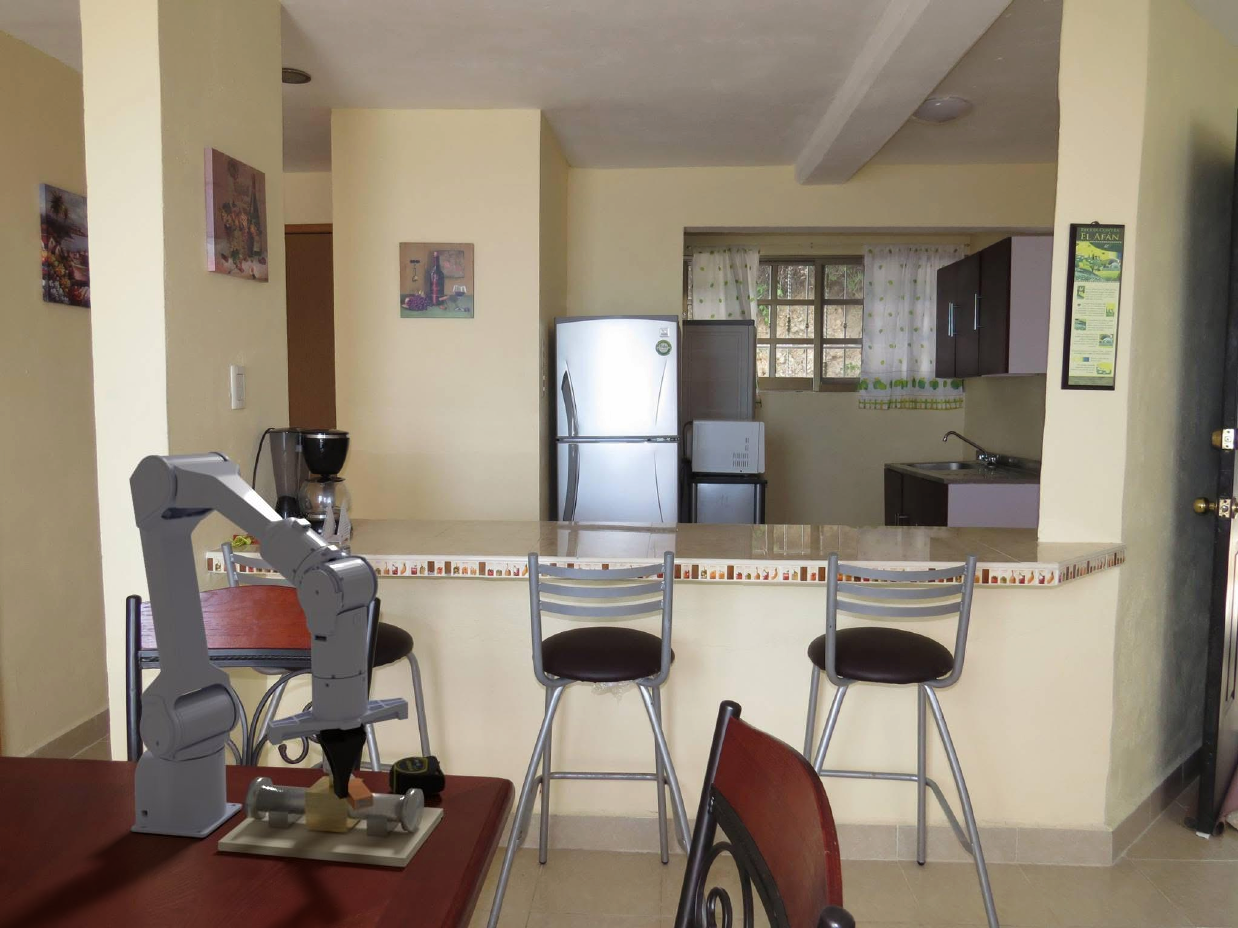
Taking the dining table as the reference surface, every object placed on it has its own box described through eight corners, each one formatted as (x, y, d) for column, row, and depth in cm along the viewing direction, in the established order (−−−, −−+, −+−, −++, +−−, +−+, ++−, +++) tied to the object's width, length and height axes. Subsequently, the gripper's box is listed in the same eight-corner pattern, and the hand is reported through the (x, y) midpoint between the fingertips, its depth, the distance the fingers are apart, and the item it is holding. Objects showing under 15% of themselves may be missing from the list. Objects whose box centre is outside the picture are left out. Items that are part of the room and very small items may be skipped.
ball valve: (244, 826, 104) (243, 773, 104) (266, 809, 109) (265, 758, 108) (409, 840, 101) (408, 786, 101) (424, 821, 106) (423, 769, 105)
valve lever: (321, 768, 105) (320, 758, 105) (341, 764, 106) (341, 754, 106) (352, 810, 94) (352, 799, 94) (375, 805, 95) (375, 794, 95)
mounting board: (218, 850, 101) (218, 841, 101) (274, 803, 113) (274, 795, 113) (405, 866, 97) (405, 857, 97) (443, 816, 109) (443, 808, 109)
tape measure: (446, 800, 114) (446, 771, 114) (390, 806, 112) (390, 777, 112) (439, 778, 121) (439, 751, 120) (387, 784, 119) (387, 756, 118)
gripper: (278, 692, 89) (281, 826, 90) (418, 669, 97) (419, 792, 98) (261, 674, 95) (264, 800, 96) (394, 654, 103) (395, 770, 104)
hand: (341, 794), depth 97 cm, fingers closed, pressing on valve lever
